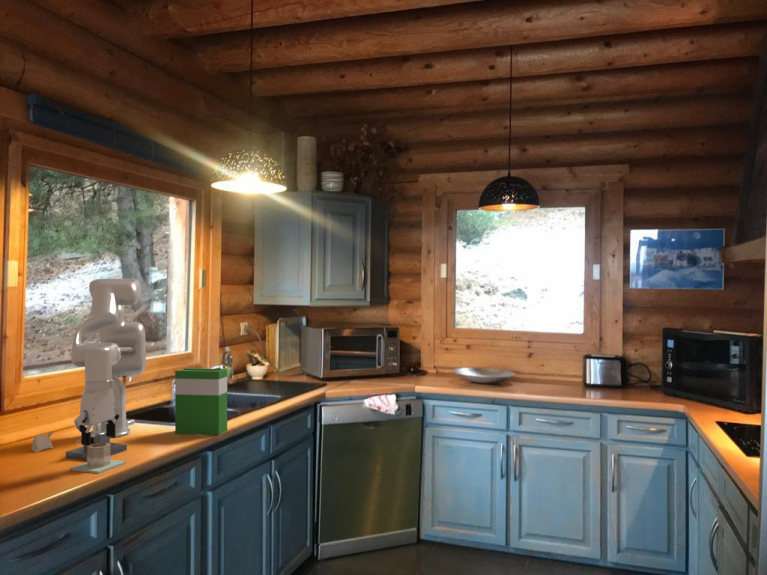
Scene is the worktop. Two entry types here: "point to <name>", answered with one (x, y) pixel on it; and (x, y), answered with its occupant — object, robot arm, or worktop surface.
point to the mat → (99, 469)
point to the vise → (96, 437)
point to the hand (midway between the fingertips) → (98, 440)
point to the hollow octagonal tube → (98, 455)
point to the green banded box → (201, 401)
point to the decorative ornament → (42, 442)
